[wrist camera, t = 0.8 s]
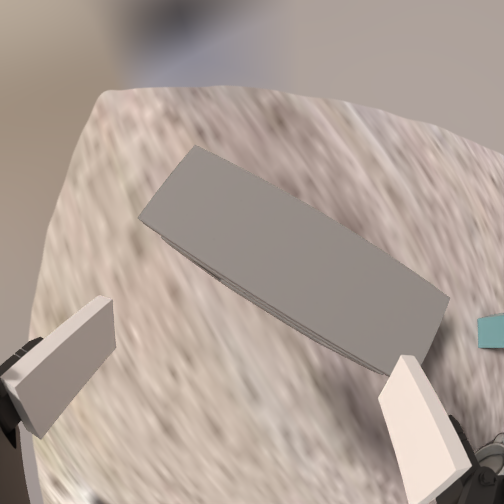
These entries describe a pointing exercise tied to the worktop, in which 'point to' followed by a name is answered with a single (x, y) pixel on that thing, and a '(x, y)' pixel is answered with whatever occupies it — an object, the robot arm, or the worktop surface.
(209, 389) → the worktop surface
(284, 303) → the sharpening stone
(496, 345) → the teal plug
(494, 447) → the ceramic mug
